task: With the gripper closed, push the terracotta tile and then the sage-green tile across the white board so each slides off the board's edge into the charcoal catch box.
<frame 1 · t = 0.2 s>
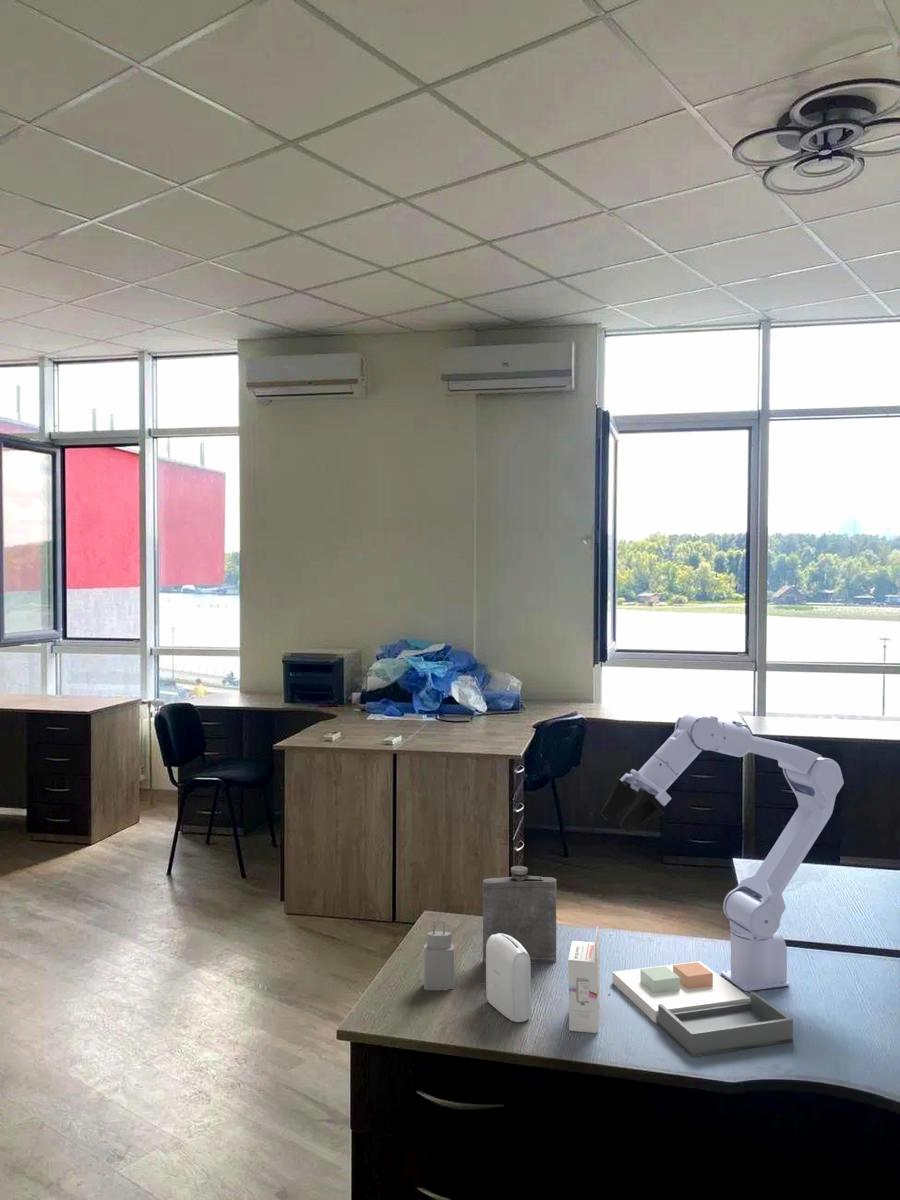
hand: (613, 822, 156), 31 cm above the table, tool tilted 45°, fingers open, 7 cm apart
ink cartridge box: (584, 1021, 147), on the table
flask: (519, 961, 171), on the table
white board: (679, 995, 156), on the table
terracotta tile: (692, 981, 157), point 2 cm above the table, touching white board
sage-green tile: (659, 985, 156), point 2 cm above the table, touching white board
catch box: (723, 1032, 143), on the table
power adapter: (438, 987, 160), on the table
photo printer: (507, 1011, 151), on the table
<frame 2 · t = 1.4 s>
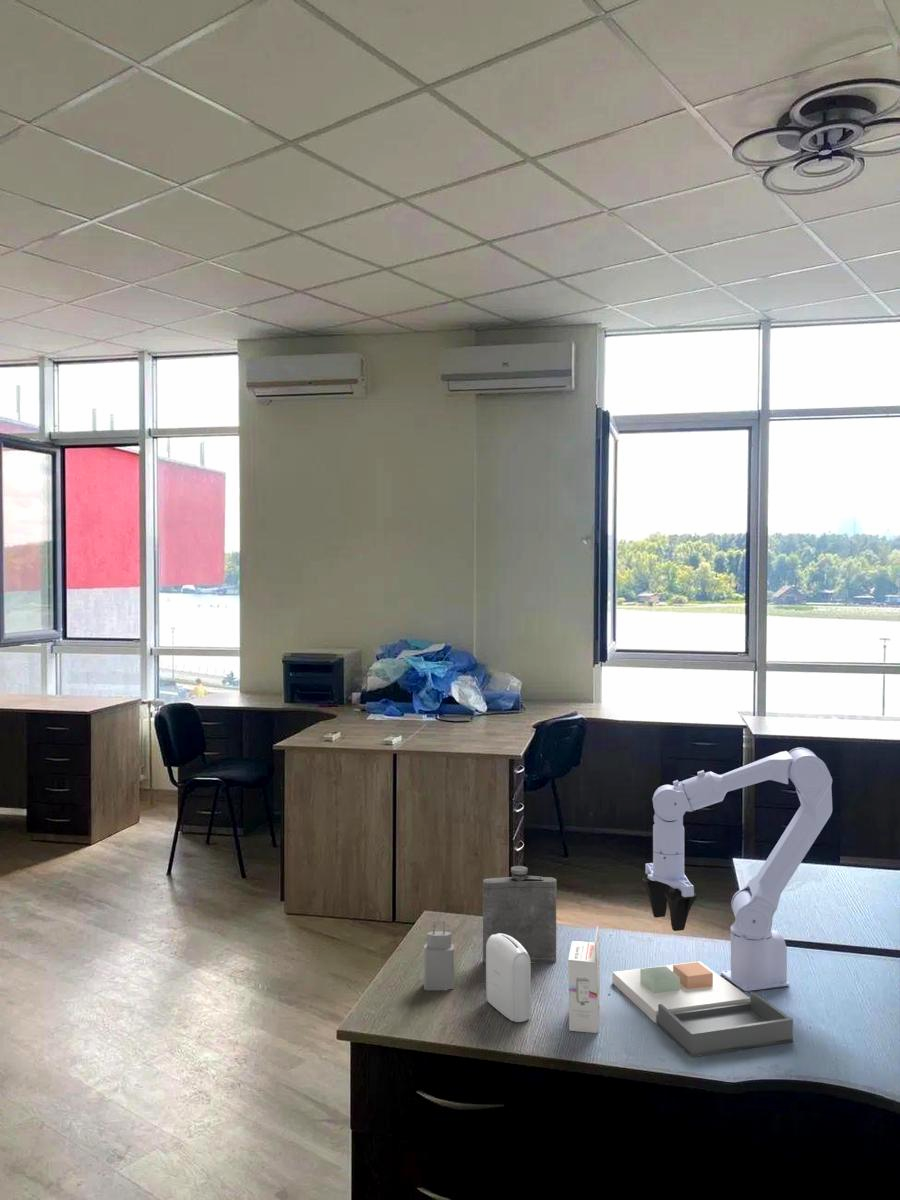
hand: (668, 923, 166), 9 cm above the table, tool pointing down, fingers open, 6 cm apart
nothing on the table moved.
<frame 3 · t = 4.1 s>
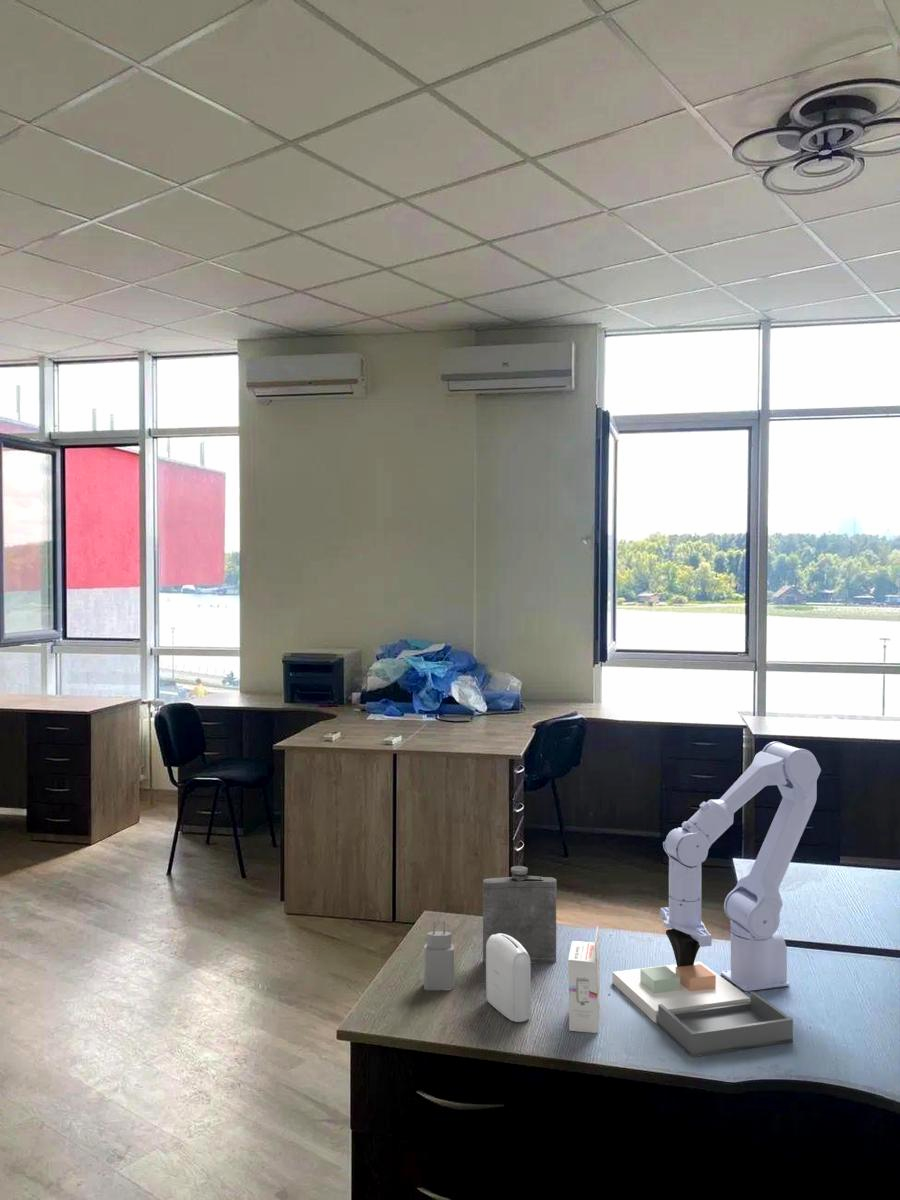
hand: (684, 971, 160), 3 cm above the table, tool pointing down, fingers closed
terracotta tile: (695, 983, 157), point 2 cm above the table, touching gripper, white board
everything else where it was.
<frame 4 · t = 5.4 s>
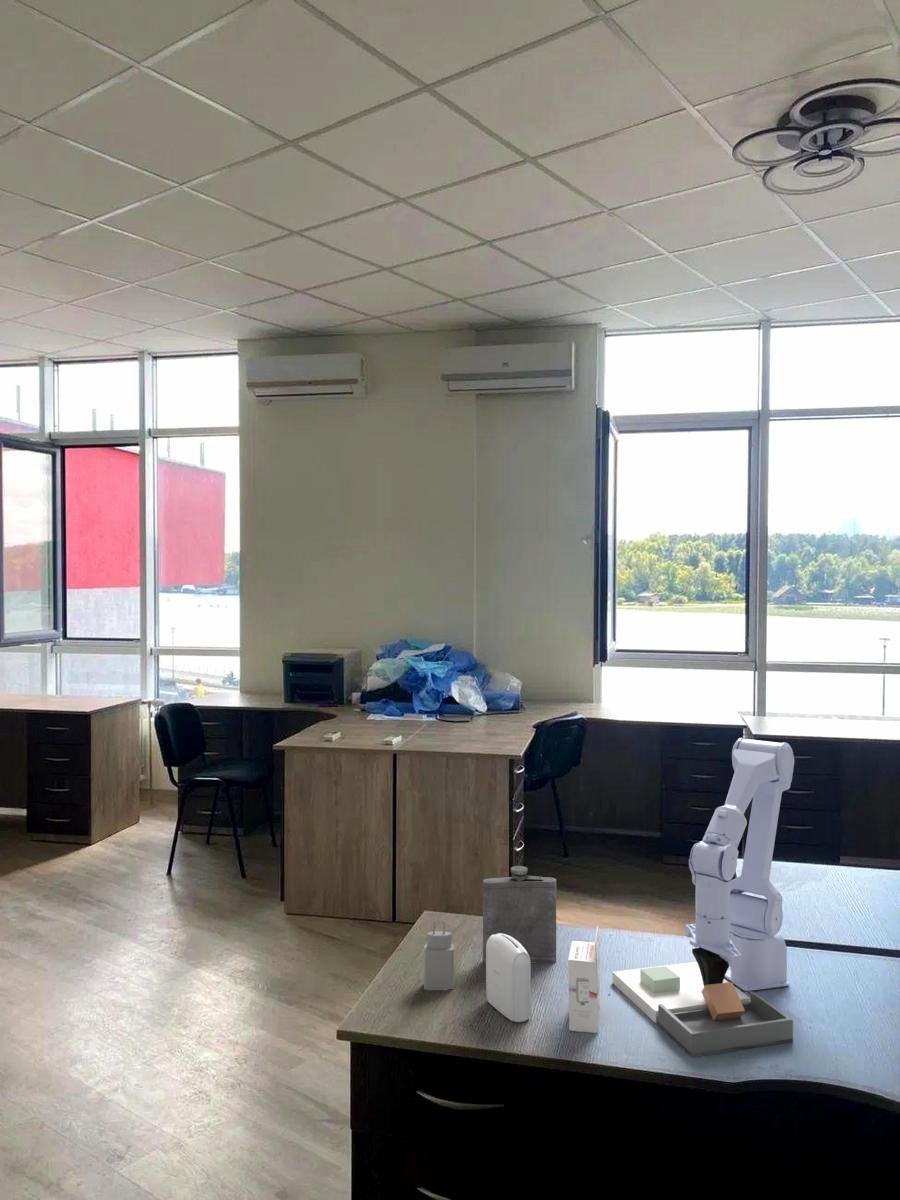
hand: (712, 992, 151), 3 cm above the table, tool pointing down, fingers closed
terracotta tile: (720, 1004, 148), point 2 cm above the table, tilted 38°, touching gripper
everything else where it was.
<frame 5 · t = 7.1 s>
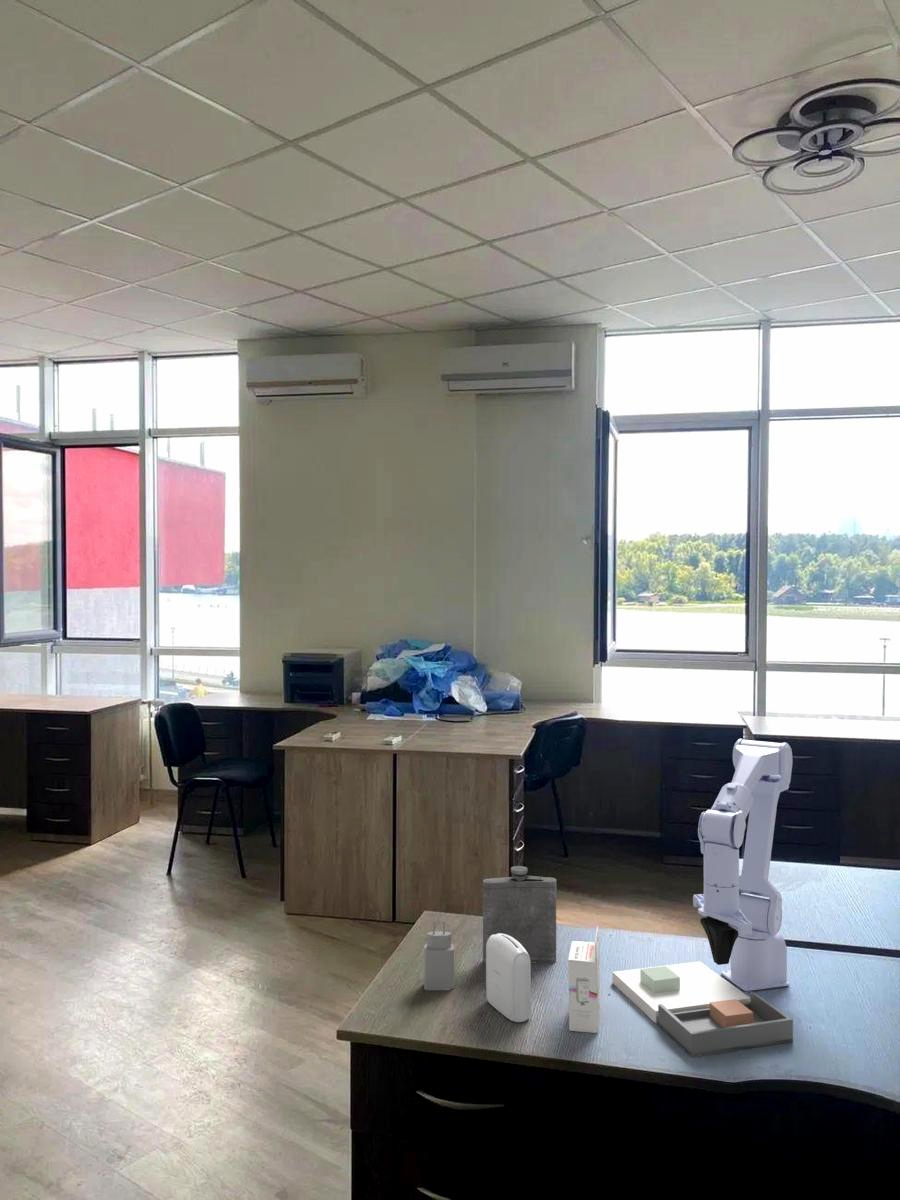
hand: (721, 962, 149), 9 cm above the table, tool pointing down, fingers closed
terracotta tile: (731, 1020, 146), resting on catch box
everything else where it was.
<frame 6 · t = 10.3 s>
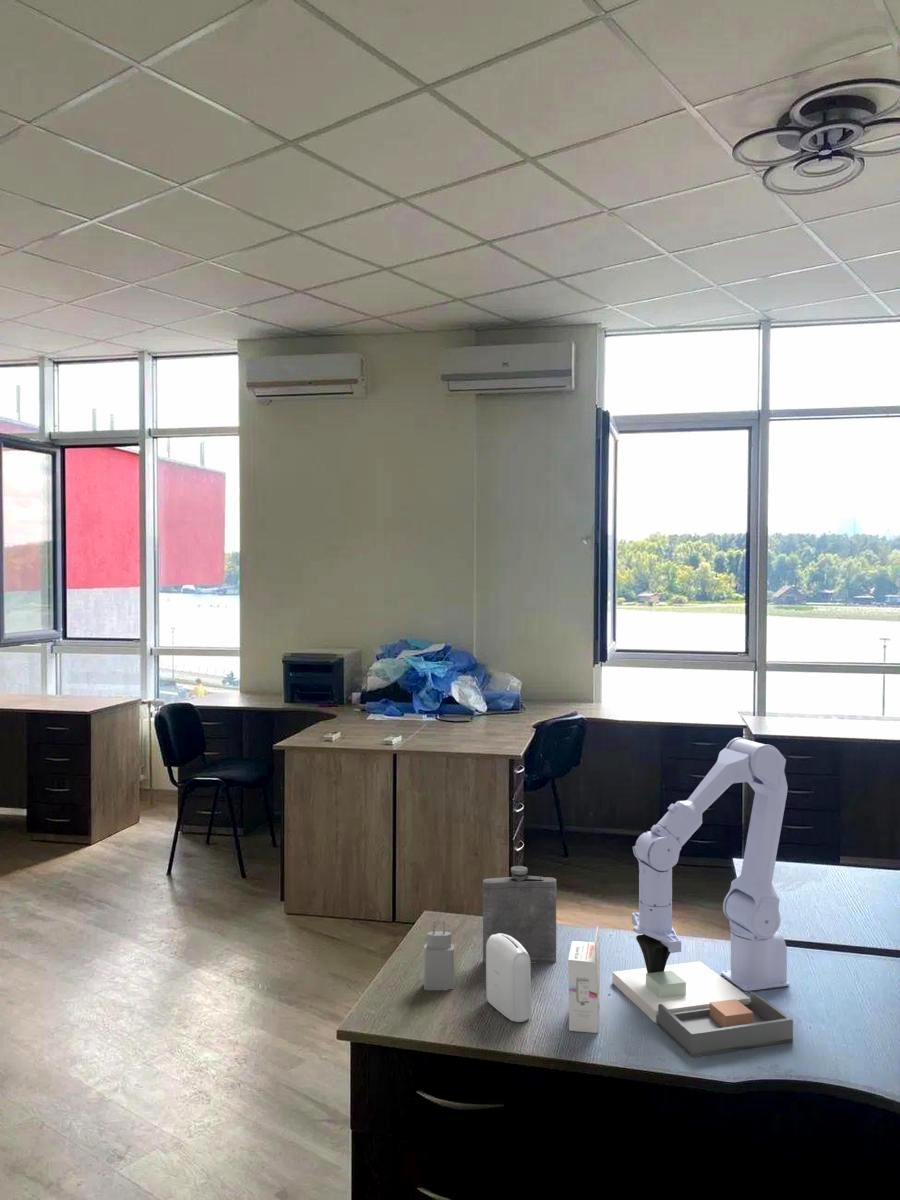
hand: (655, 977, 157), 3 cm above the table, tool pointing down, fingers closed
sage-green tile: (665, 990, 154), point 2 cm above the table, touching white board
everything else where it was.
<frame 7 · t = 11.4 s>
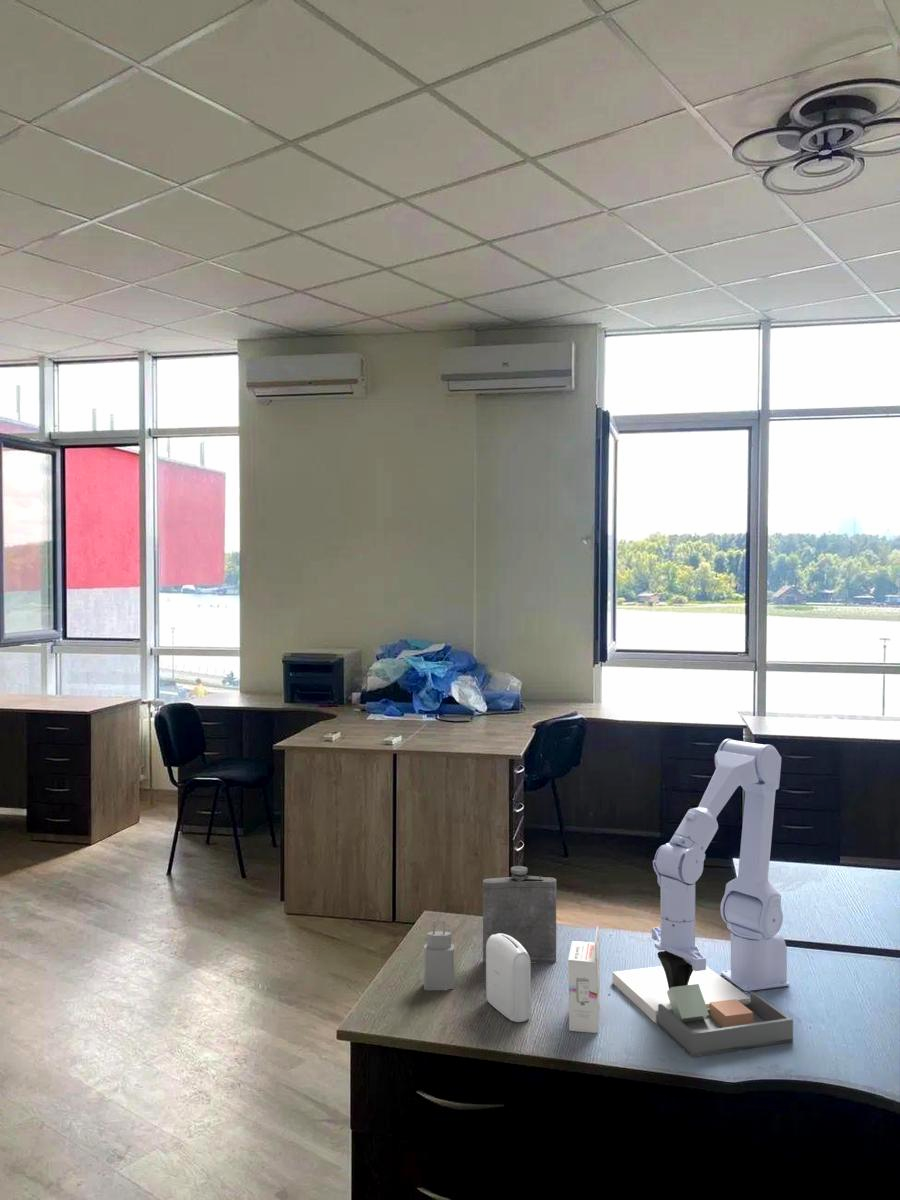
hand: (677, 996, 150), 3 cm above the table, tool pointing down, fingers closed, pressing on sage-green tile
sage-green tile: (685, 1005, 147), point 2 cm above the table, tilted 48°, touching catch box, gripper
everything else where it was.
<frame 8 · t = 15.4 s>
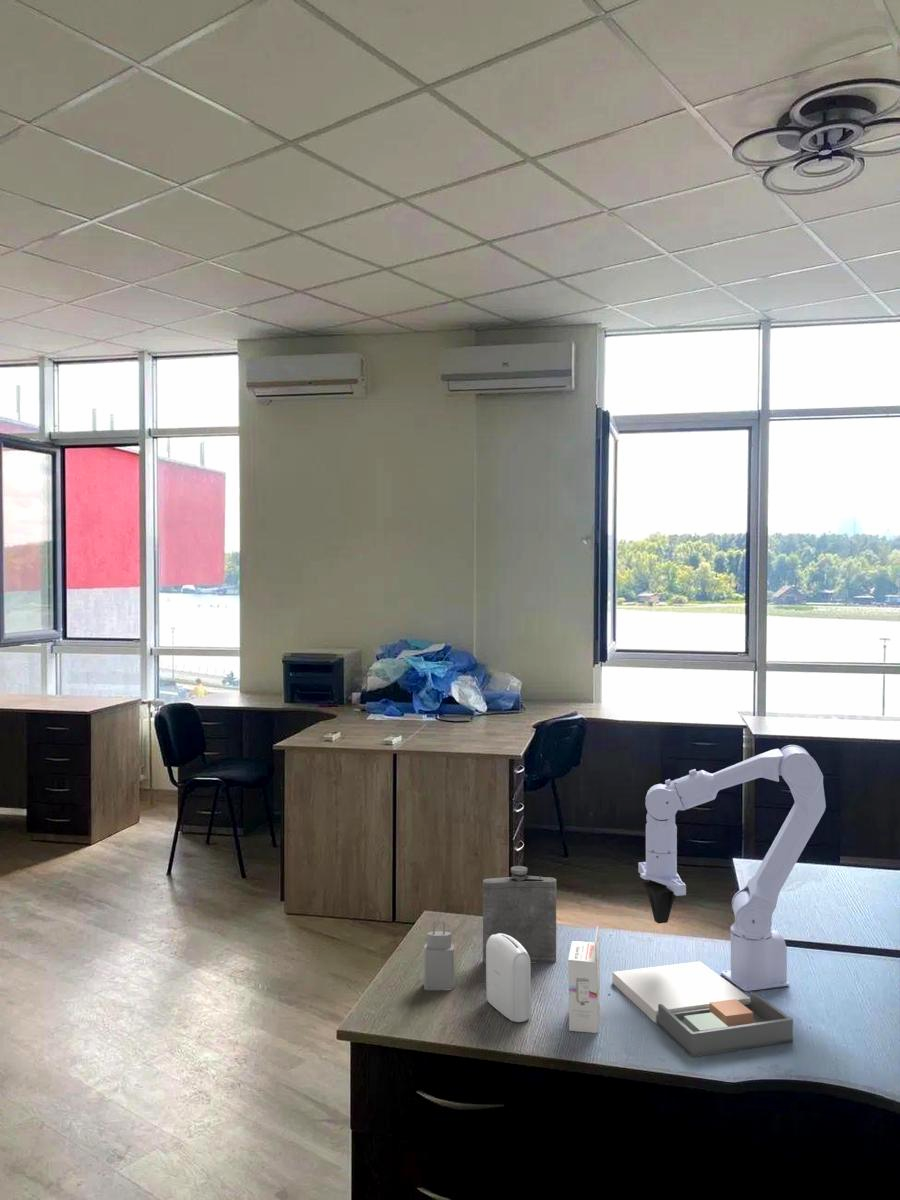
hand: (661, 921, 166), 9 cm above the table, tool pointing down, fingers closed
sage-green tile: (705, 1021, 141), point 3 cm above the table, tilted 180°, touching catch box
everything else where it was.
at the end: terracotta tile inside the target area (3.8 cm from its centre), point 0.5 cm above the table; sage-green tile inside the target area (3.8 cm from its centre), point 2.7 cm above the table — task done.
